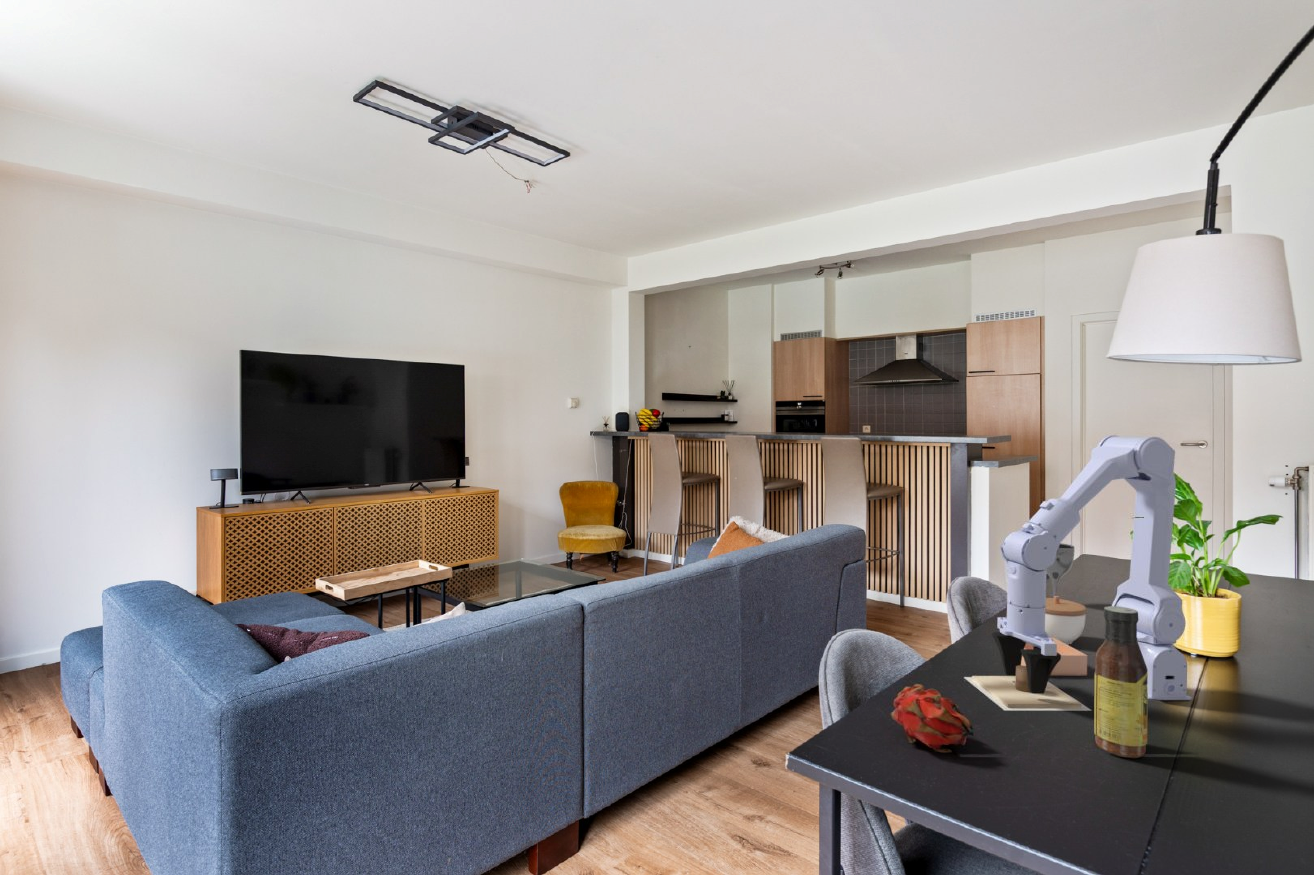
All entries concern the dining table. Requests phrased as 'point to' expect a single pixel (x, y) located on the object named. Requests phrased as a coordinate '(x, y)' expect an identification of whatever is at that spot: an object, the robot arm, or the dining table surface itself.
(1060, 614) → the lidded jar
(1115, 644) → the sauce bottle
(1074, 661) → the terracotta tray
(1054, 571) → the wine glass
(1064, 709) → the grey mat
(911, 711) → the dragon fruit
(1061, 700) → the birch lid
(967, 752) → the dining table surface
